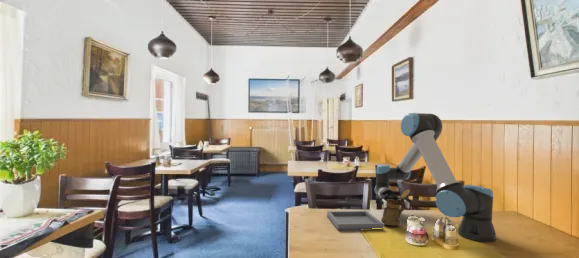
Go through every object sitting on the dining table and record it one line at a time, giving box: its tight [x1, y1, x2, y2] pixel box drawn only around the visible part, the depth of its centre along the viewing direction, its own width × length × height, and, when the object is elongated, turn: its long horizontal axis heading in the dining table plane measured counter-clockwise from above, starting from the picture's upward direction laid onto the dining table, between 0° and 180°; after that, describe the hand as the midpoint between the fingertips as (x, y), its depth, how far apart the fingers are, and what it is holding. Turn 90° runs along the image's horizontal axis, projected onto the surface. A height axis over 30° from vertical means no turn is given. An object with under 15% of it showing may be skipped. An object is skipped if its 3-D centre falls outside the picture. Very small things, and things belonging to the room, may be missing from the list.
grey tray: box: [326, 210, 384, 232], centre depth 165 cm, size 22×22×3 cm
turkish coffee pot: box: [380, 188, 412, 227], centre depth 163 cm, size 9×14×18 cm, turn 92°
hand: (397, 205), depth 159 cm, fingers closed on turkish coffee pot, 10 cm apart
